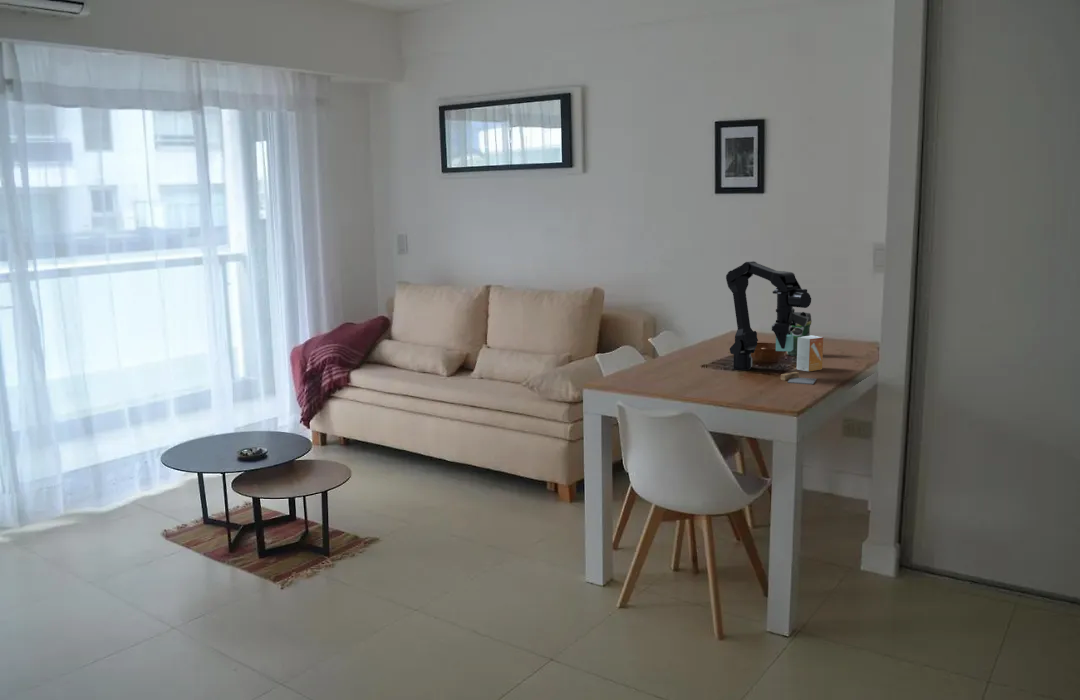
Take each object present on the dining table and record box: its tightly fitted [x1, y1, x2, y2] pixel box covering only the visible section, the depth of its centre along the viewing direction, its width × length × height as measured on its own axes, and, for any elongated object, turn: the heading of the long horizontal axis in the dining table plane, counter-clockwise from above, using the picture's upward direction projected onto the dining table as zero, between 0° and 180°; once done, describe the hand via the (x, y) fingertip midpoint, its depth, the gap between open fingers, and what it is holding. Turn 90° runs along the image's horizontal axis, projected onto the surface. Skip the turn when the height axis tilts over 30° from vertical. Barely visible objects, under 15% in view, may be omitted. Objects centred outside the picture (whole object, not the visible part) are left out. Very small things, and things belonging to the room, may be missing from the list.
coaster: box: [787, 376, 817, 385], centre depth 332 cm, size 9×9×1 cm
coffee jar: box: [786, 311, 812, 357], centre depth 383 cm, size 10×8×19 cm
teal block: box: [775, 335, 793, 352], centre depth 337 cm, size 6×6×6 cm
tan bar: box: [780, 371, 800, 382], centre depth 337 cm, size 8×2×2 cm, turn 125°
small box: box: [796, 334, 824, 372], centre depth 353 cm, size 8×6×13 cm
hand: (784, 347), depth 337 cm, fingers closed on teal block, 5 cm apart
